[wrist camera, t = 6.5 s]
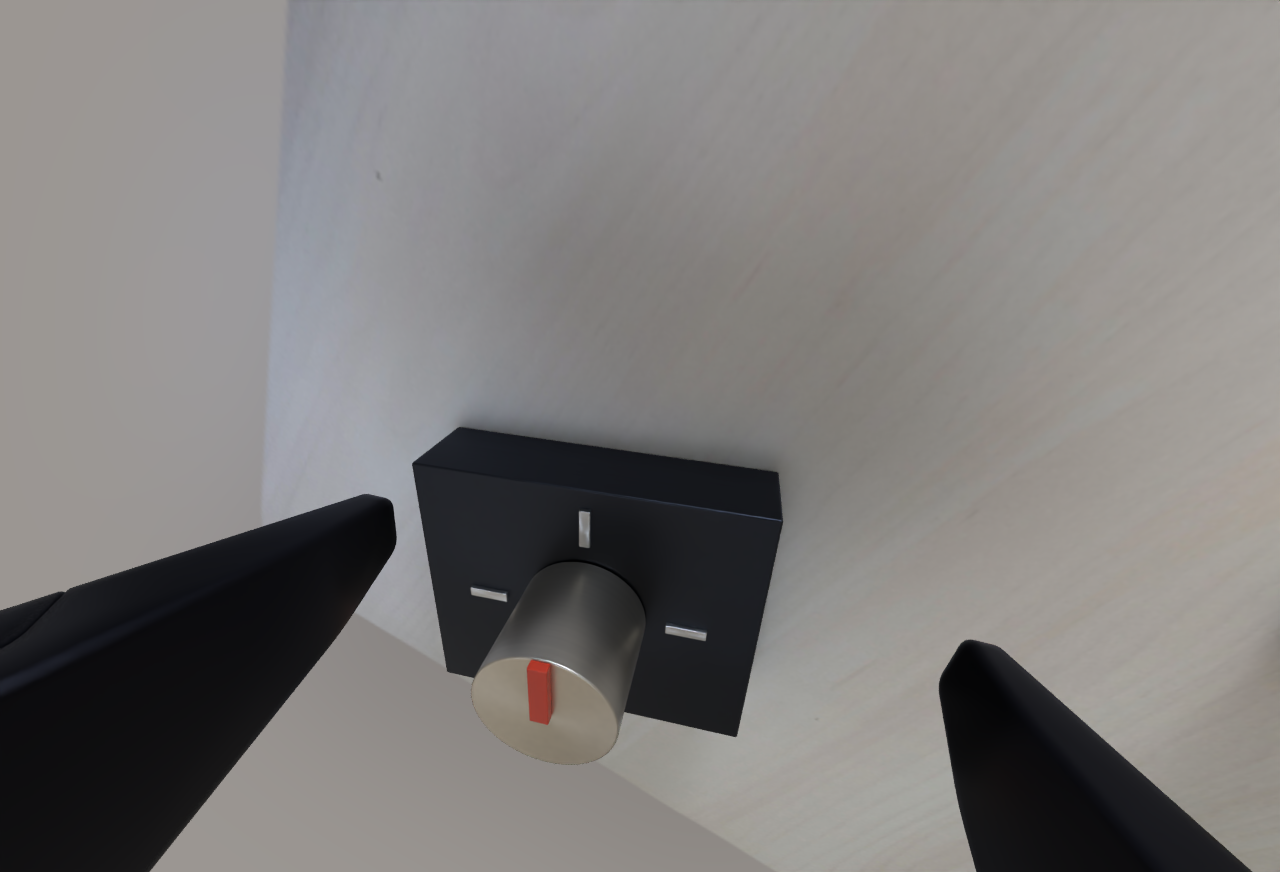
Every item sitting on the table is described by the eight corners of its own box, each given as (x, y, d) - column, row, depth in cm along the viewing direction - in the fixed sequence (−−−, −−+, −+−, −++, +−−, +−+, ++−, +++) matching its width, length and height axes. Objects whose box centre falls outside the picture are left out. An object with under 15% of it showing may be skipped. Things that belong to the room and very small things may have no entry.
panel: (481, 619, 23) (444, 675, 21) (458, 426, 19) (407, 465, 16) (738, 672, 22) (736, 742, 19) (778, 471, 17) (784, 524, 14)
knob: (641, 667, 18) (612, 791, 14) (528, 643, 19) (472, 754, 15) (650, 574, 16) (618, 688, 13) (523, 550, 17) (457, 652, 13)
